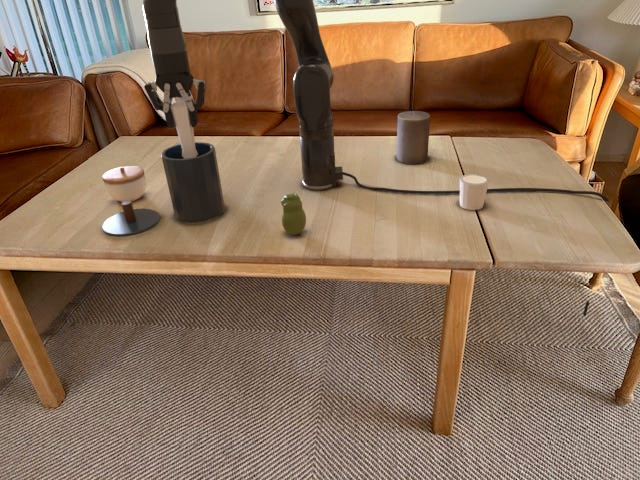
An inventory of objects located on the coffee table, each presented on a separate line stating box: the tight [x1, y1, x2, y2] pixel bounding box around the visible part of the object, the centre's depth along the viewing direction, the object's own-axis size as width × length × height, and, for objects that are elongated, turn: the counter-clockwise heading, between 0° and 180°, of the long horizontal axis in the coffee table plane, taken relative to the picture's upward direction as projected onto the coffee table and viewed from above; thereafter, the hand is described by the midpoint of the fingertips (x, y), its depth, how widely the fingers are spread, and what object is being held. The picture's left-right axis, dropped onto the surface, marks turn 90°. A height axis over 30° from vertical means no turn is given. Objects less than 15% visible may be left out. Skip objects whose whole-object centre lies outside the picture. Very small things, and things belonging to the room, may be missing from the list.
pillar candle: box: [396, 110, 431, 165], centre depth 145 cm, size 10×10×15 cm
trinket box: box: [101, 165, 147, 203], centre depth 131 cm, size 11×11×9 cm
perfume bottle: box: [170, 97, 198, 159], centre depth 112 cm, size 5×4×15 cm
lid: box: [101, 201, 161, 237], centre depth 118 cm, size 14×14×6 cm
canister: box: [160, 141, 226, 224], centre depth 119 cm, size 13×13×17 cm
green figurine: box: [280, 192, 307, 235], centre depth 109 cm, size 6×5×10 cm
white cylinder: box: [459, 173, 490, 211], centre depth 118 cm, size 7×7×7 cm
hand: (183, 126), depth 112 cm, fingers closed on perfume bottle, 4 cm apart
